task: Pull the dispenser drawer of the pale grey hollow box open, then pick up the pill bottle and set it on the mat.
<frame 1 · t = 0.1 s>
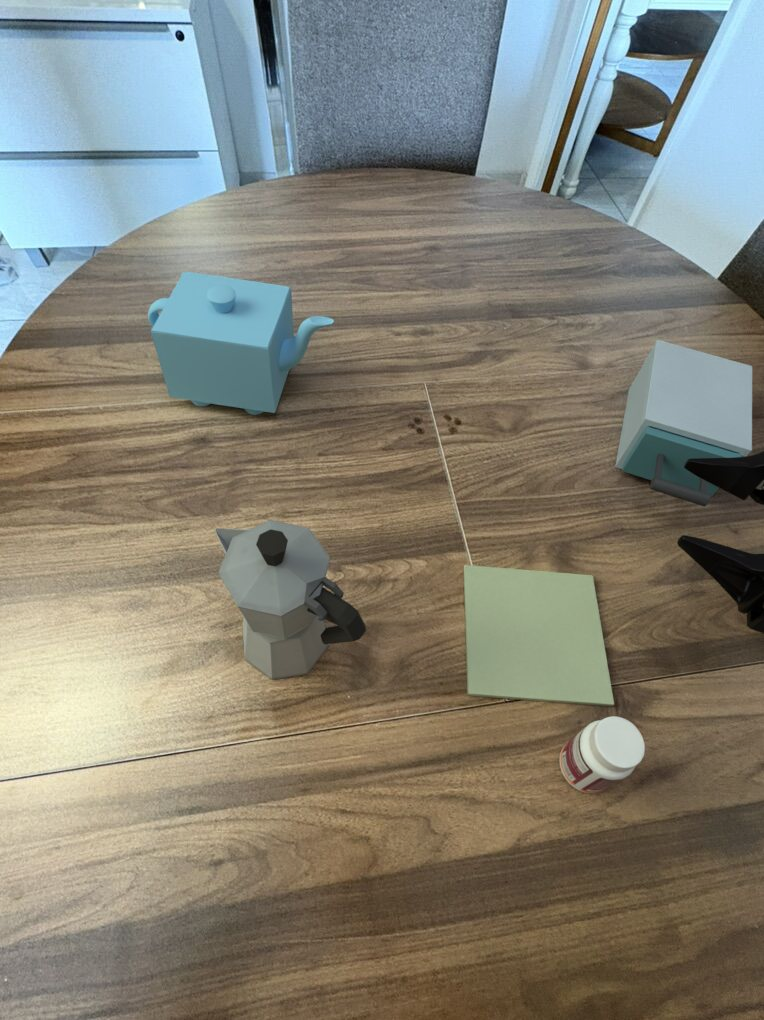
hand: (682, 499, 55), 15 cm above the table, tool horizontal, fingers open, 9 cm apart
pill bottle: (583, 765, 56), on the table
coffee maker: (294, 644, 60), on the table
teapot: (249, 387, 80), on the table
dispenser drawer: (681, 441, 73), point 4 cm above the table, slide at 0.0 cm, touching pale grey hollow box
mat: (533, 632, 62), on the table
pale grey hollow box: (667, 440, 79), on the table
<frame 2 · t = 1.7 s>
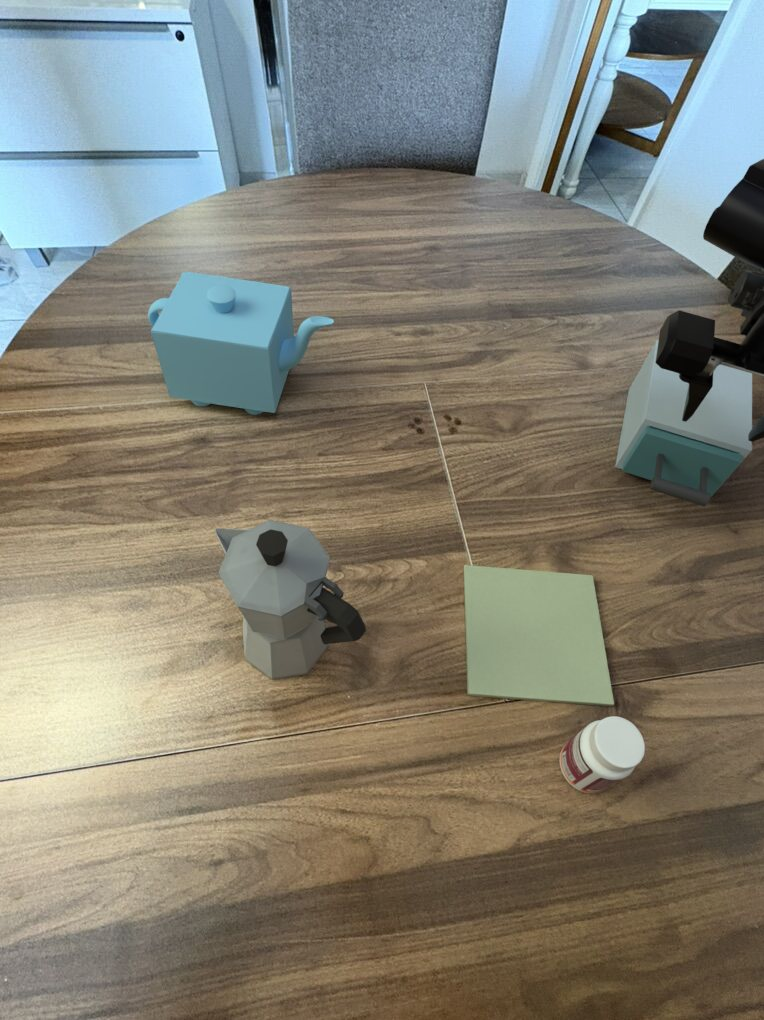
hand: (716, 428, 63), 13 cm above the table, tool pointing down, fingers open, 6 cm apart
nothing on the table moved.
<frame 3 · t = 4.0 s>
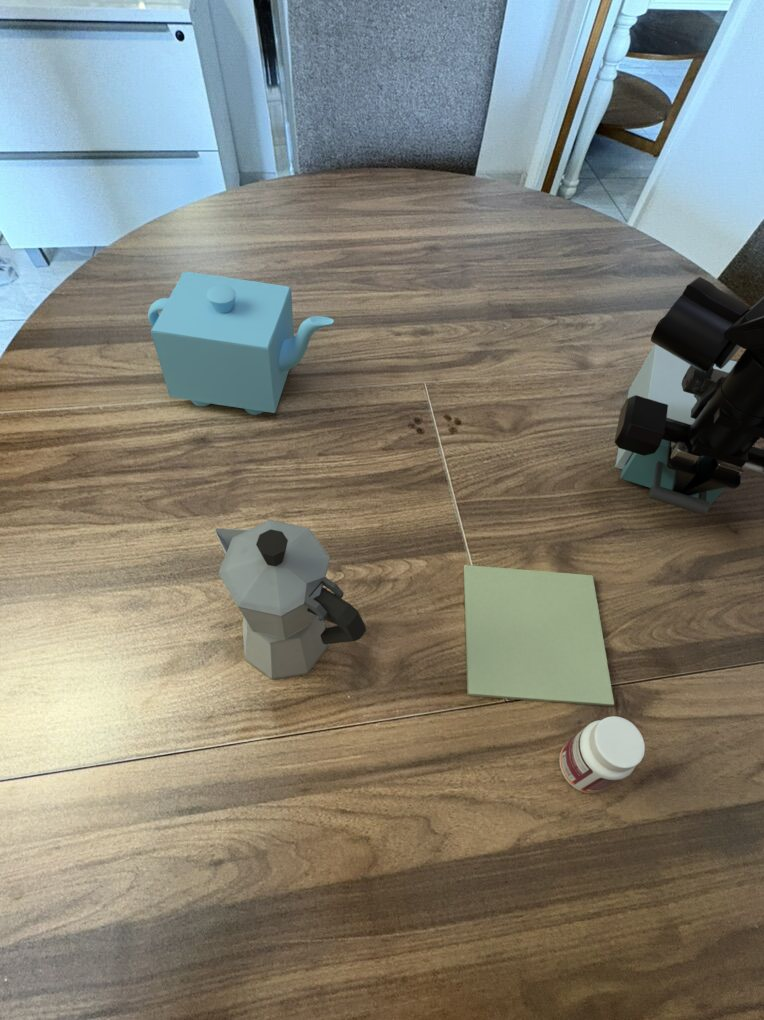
hand: (674, 495, 69), 4 cm above the table, tool pointing down, fingers closed
dispenser drawer: (680, 449, 73), point 4 cm above the table, slide at 1.3 cm, touching gripper
everything else where it was.
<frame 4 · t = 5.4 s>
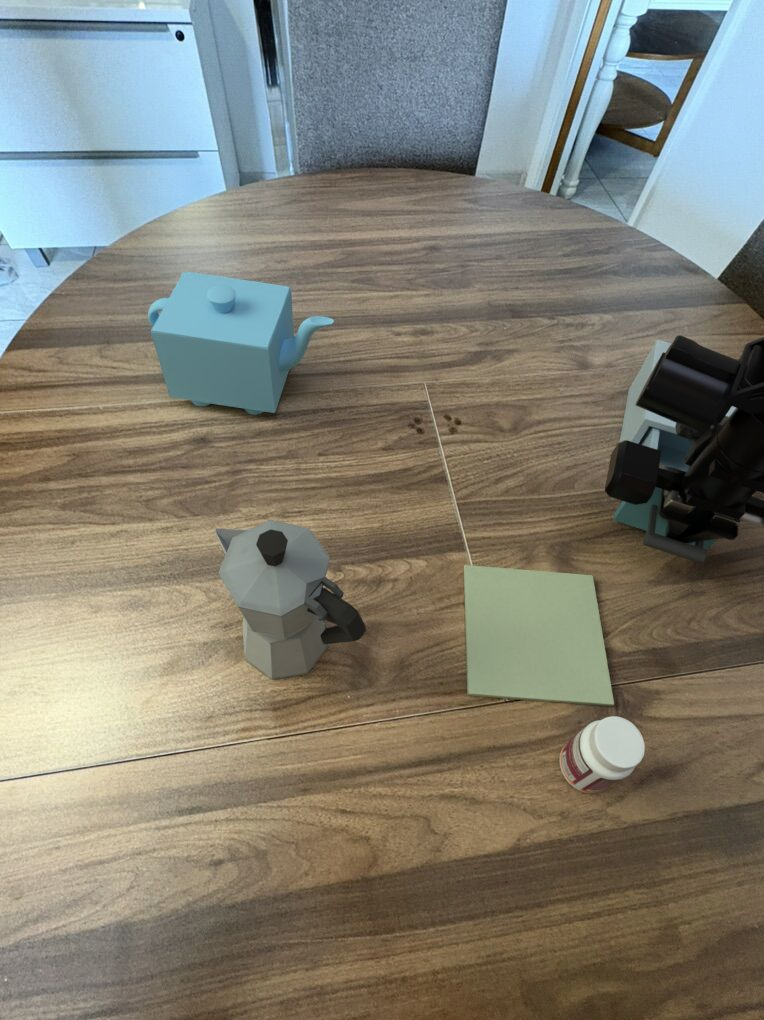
hand: (668, 541, 66), 4 cm above the table, tool pointing down, fingers closed, pressing on dispenser drawer
dispenser drawer: (676, 490, 69), point 4 cm above the table, slide at 7.8 cm, touching gripper
everything else where it was.
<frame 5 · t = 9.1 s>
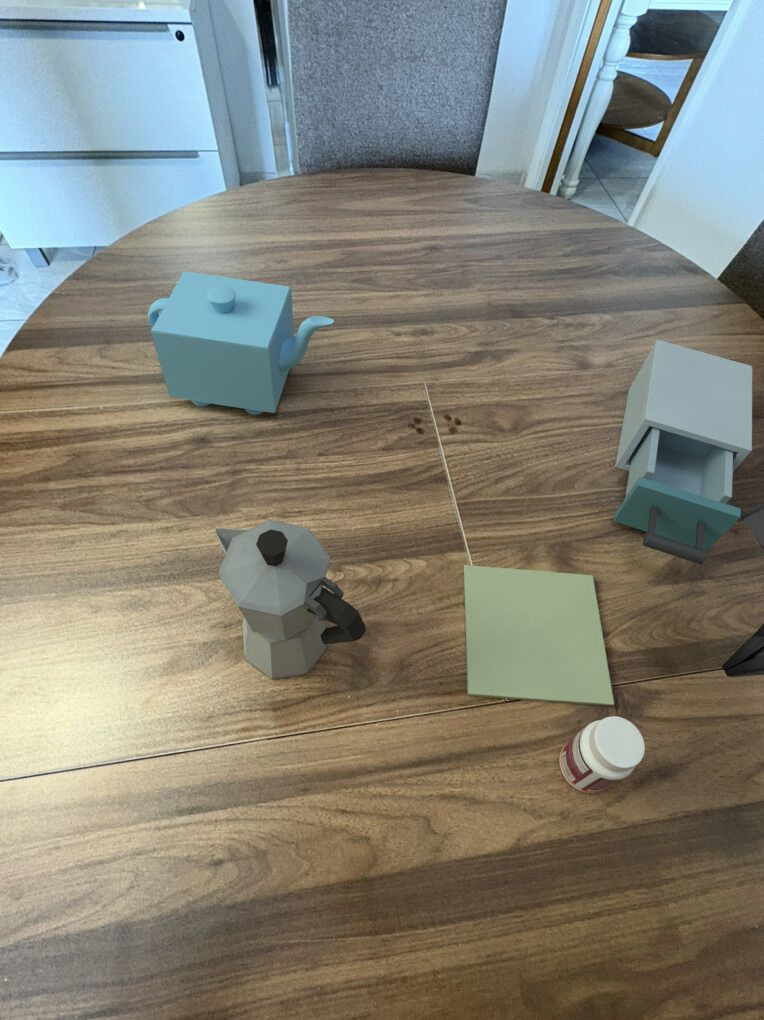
hand: (725, 672, 47), 13 cm above the table, tool tilted 40°, fingers closed
dispenser drawer: (676, 490, 69), point 4 cm above the table, slide at 7.9 cm
everything else where it was.
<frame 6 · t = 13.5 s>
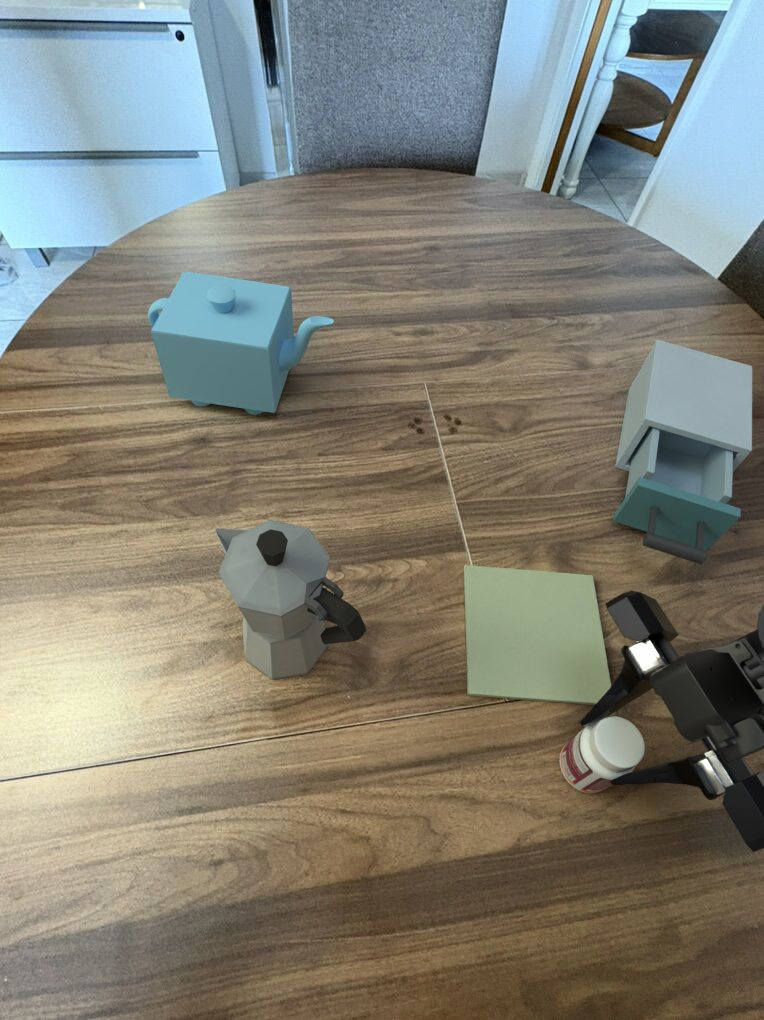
hand: (596, 752, 50), 7 cm above the table, tool tilted 45°, fingers closed on pill bottle, 4 cm apart
pill bottle: (583, 765, 56), on the table, touching gripper
everything else where it was.
when the fingers open (7 cm above the table, at t = 18.8 s): pill bottle stays where it is, resting on mat.
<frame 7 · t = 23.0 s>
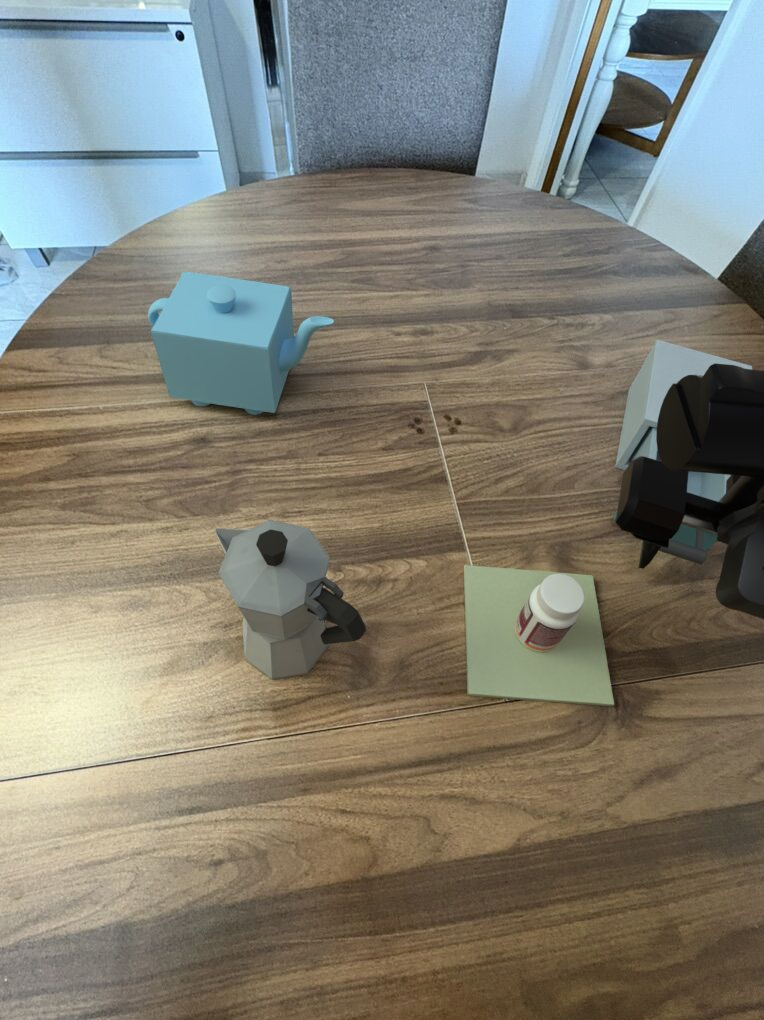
hand: (694, 581, 52), 13 cm above the table, tool pointing down, fingers open, 9 cm apart
pill bottle: (536, 631, 62), resting on mat
everything else where it was.
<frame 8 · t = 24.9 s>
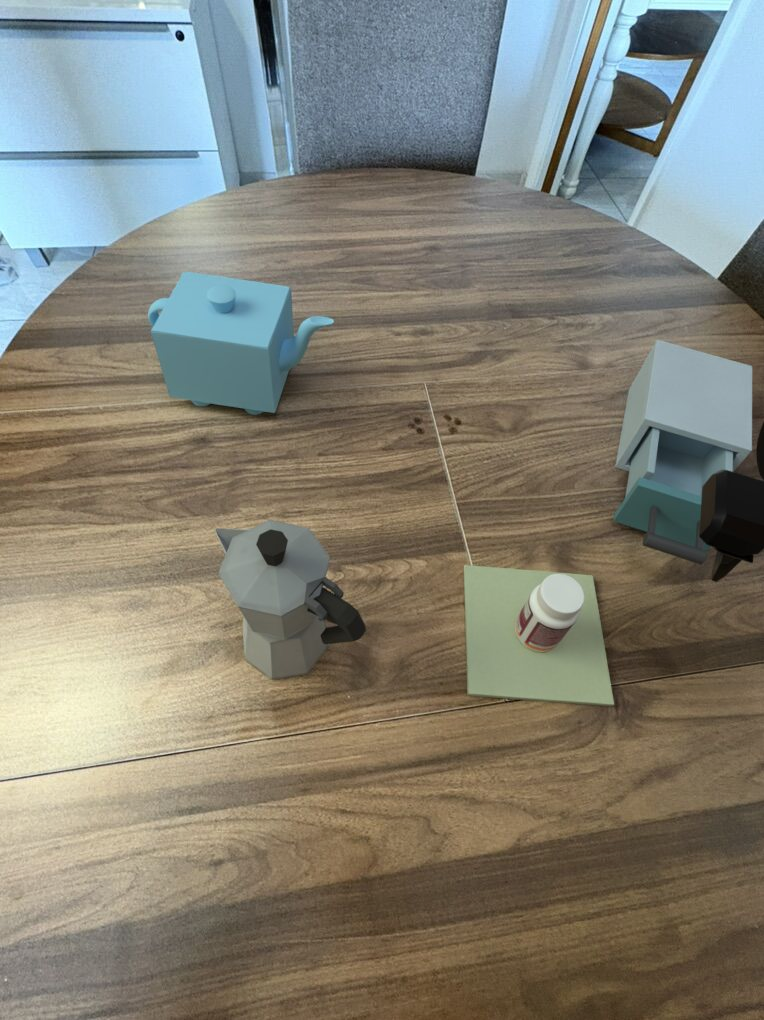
nothing on the table moved.
at the end: dispenser drawer slide at 7.9 cm; pill bottle inside the target area on the mat (0.2 cm from its centre), point 0.4 cm above the mat's base; pill bottle tilted 0° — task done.
